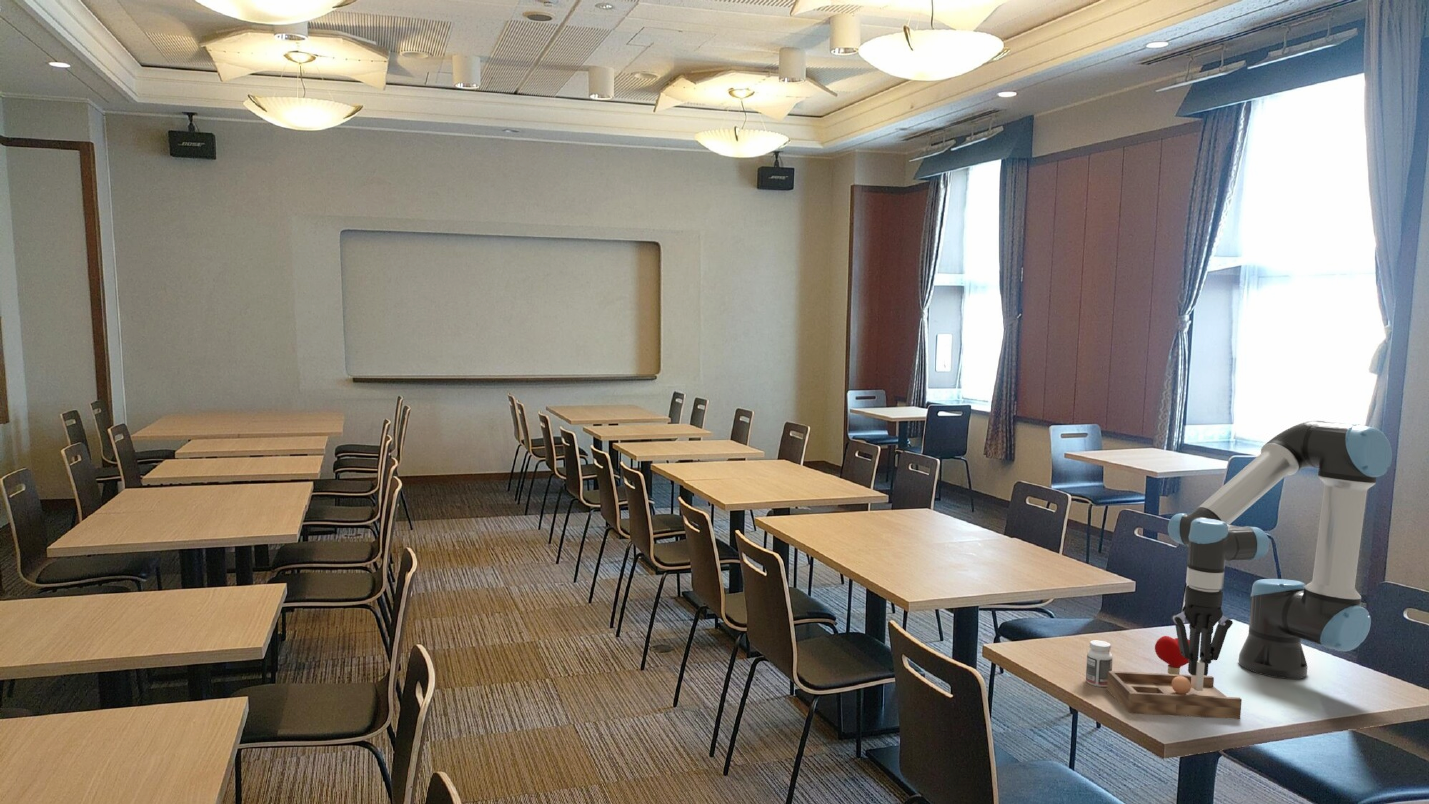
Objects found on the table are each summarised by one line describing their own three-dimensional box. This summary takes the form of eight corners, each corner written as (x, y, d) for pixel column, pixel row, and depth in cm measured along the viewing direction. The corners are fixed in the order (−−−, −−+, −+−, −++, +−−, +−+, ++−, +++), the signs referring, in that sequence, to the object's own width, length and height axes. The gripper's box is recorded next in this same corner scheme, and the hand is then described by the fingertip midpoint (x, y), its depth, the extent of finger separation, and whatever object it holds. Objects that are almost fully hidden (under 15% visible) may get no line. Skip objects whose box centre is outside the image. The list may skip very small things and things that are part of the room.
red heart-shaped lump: (1157, 680, 227) (1160, 640, 227) (1149, 670, 234) (1151, 631, 234) (1198, 683, 226) (1201, 643, 225) (1188, 673, 233) (1191, 634, 232)
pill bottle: (1111, 681, 226) (1113, 641, 225) (1110, 689, 221) (1113, 648, 220) (1086, 677, 228) (1088, 638, 227) (1084, 684, 223) (1087, 644, 222)
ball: (1176, 670, 214) (1164, 683, 214) (1184, 676, 210) (1172, 689, 210) (1189, 680, 214) (1178, 693, 214) (1198, 687, 210) (1186, 700, 210)
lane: (1210, 694, 219) (1211, 676, 219) (1240, 719, 205) (1241, 699, 205) (1106, 689, 220) (1108, 670, 220) (1129, 713, 207) (1130, 693, 206)
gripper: (1225, 584, 214) (1217, 684, 215) (1167, 581, 214) (1160, 680, 216) (1242, 593, 206) (1234, 696, 208) (1182, 590, 207) (1174, 693, 209)
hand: (1196, 688), depth 212 cm, fingers closed
